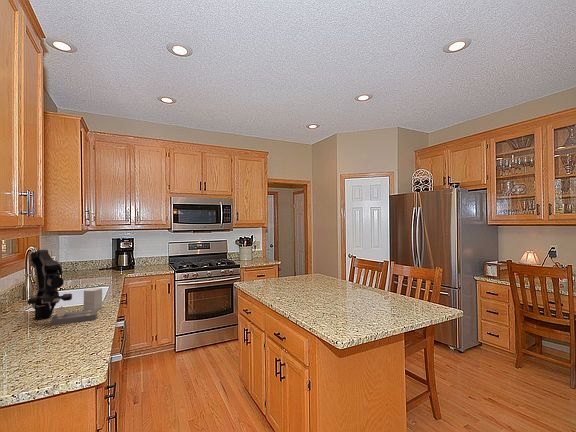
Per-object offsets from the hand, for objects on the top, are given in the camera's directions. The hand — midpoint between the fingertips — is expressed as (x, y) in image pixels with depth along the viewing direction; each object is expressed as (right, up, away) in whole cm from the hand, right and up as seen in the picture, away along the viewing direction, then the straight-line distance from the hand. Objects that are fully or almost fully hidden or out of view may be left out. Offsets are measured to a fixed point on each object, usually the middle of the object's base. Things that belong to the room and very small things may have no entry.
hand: (50, 314), depth 168 cm
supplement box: (+7, -5, +26) cm, 28 cm away
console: (+10, -5, +5) cm, 12 cm away
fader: (+4, -1, +2) cm, 5 cm away
